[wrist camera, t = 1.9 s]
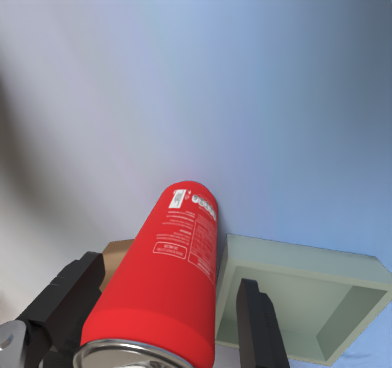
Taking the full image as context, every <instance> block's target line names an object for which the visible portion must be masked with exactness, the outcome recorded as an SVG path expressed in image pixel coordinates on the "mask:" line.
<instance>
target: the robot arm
mask: <svg viewBox="0 0 392 368" xmlns="http://www.w3.org/2000/svg"><path fill="white" fill-rule="evenodd" d="M105 273H106V271H105V265H104V258H103V254H102V253H96V252H90V251H89V252H86V253H85V254H84V255H83V257H82V258H81V259H80V260H74V261H73V262H71V263H70V264H68V265H67V266H65V267H64V268H63V270H62V271H61V272H60V273H59V274H58V275H57V277H55V278H54V279H53V280H52V281H51V282H50V284H49V285H48V286H47V287H46V288H45V289H44V290H43V291H42V292H41V293H40V294H39V295H38V296H37V297H36V298H35V300H34V301H33V302H32V303H31V304H30V305H29V306H28V307H27V308H26V309H25V310H24V311H23V312H22V313H21V314H20V315H19V316H18V317H17V318H16V319H15V320H13V321H9V322H6V323H4V324H2V325H0V368H42V366H43V358H44V357H45V355H46V354H47V352H48V351H49V350H50V351H55V352H58V351H59V349H60V348H61V346H62V345H63V343H64V341H65V340H66V338H67V337H68V335H69V334H70V332H71V331H72V329H73V328H74V326H75V324H76V323H77V321H78V320H79V318H80V317H81V315H82V314H83V312H84V310H85V309H86V307H87V306H88V304H89V303H90V301H91V300H92V298H93V296H94V295H95V293H96V292H97V290H98V289H99V287H100V286H101V284H102V282H103V280H104V278H105ZM236 315H237V327H238V339H239V351H240V363H241V368H290V365H289V362H288V358H287V354H286V350H285V347H284V343H283V339H282V335H281V332H280V328H279V324H278V321H277V318H276V313H275V309H274V306H273V303H272V301H271V300H270V298H269V297H268V295H267V293H262V292H259V287H258V283H257V281H256V280H252V279H246V278H242V279H241V283H240V286H239V289H238V293H237V296H236Z"/></svg>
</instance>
